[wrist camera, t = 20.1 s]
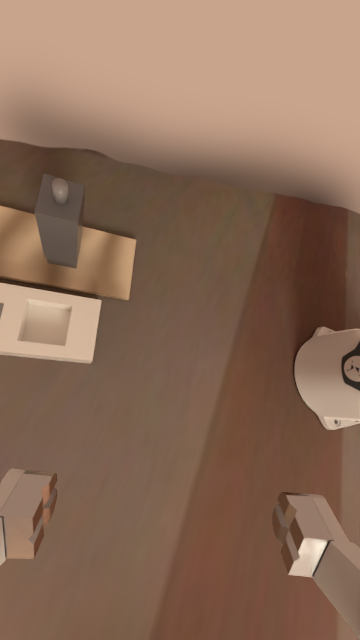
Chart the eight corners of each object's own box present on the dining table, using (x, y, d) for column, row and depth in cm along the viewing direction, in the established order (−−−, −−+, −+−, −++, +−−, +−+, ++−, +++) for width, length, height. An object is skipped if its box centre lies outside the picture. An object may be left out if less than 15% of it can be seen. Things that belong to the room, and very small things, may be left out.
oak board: (135, 242, 45) (136, 239, 44) (128, 300, 42) (128, 298, 41) (-7, 207, 38) (-9, 203, 37) (-27, 272, 35) (-29, 270, 35)
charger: (81, 242, 41) (85, 171, 27) (76, 271, 39) (78, 211, 26) (52, 236, 39) (41, 158, 26) (46, 265, 38) (31, 198, 25)
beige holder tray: (99, 308, 40) (101, 300, 36) (90, 363, 38) (92, 360, 34) (-31, 287, 35) (-44, 275, 31) (-50, 349, 33) (-65, 344, 29)
